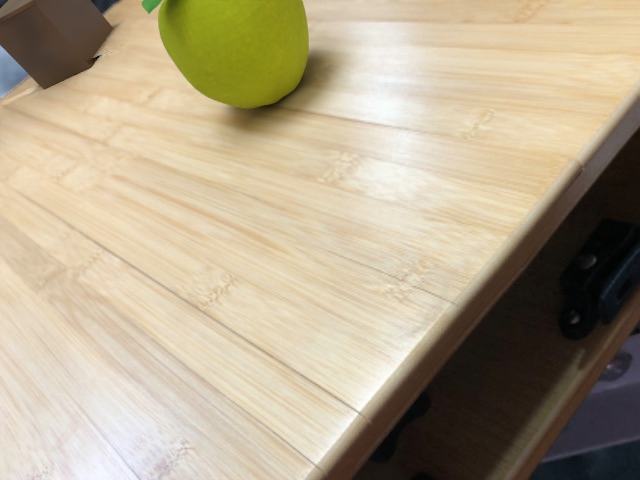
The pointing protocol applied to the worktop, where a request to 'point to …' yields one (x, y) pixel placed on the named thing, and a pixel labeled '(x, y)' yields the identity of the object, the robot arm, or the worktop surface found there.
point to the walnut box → (52, 36)
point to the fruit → (236, 46)
